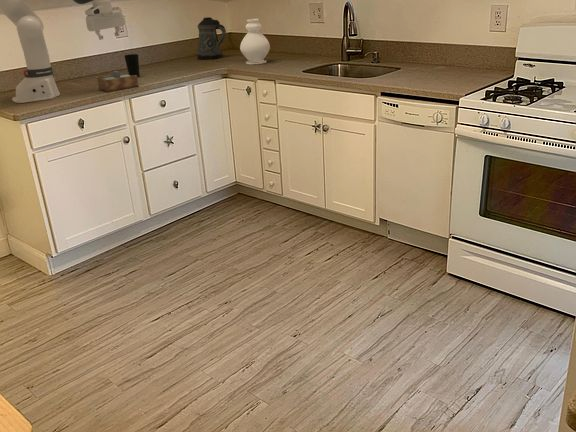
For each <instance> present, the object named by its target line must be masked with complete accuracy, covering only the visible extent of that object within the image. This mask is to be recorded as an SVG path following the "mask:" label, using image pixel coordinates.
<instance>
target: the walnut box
mask: <svg viewBox="0 0 576 432" xmlns="http://www.w3.org/2000/svg"><path fill="white" fill-rule="evenodd" d="M120 75H129V73H128V72H124V73H120ZM108 77H114V76H113V74H112V75H107V76H106V75H105V76H100V77H97V78H96V81H97V85H98V90H99V91H102V92H104V93H105V92H106V93H112V92H116V91H123V90H129V89H133V88H135V89H136V88H139V81H138V77H137V75H133V76H127V77H121V78H115V79H109V80H105V79H102V78H108Z"/></svg>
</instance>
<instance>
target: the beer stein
mask: <svg viewBox="0 0 576 432" xmlns="http://www.w3.org/2000/svg"><path fill="white" fill-rule="evenodd" d="M197 29H198V45H197V52H196V56H197V60H200V61H213V60H214V61H215V60H218V59H221V58H222V57H223V51H222V49H221V45H222V43H223V42H224V41H225V39H226V36H227V35H226V34H227V29H226V28H225V26H224V25H223V24H220V21H219V20H218V19H213V18H212V17H210V16H209V17H208V16H207V17H203V19H202V20H201V21H200V22H199V23H198V24H197ZM217 30H220V31H221V37H220V38H219V36H218V34H217Z"/></svg>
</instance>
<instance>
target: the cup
mask: <svg viewBox="0 0 576 432" xmlns="http://www.w3.org/2000/svg"><path fill="white" fill-rule="evenodd" d="M124 60H125V64H126V69H127V73H129V75H130V76H133V75H137V78H140V77H141V76H140V62H139V60H140V59H139V54H138V53H130V54H125V55H124Z"/></svg>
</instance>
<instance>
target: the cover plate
mask: <svg viewBox="0 0 576 432" xmlns="http://www.w3.org/2000/svg"><path fill="white" fill-rule="evenodd" d="M120 74H121V72H120V71H118V70H114V71H112V75H113V76H114V77H108V78H102V79H105V80H109V79H115V78H121V77H127V76H130V75H120Z"/></svg>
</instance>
